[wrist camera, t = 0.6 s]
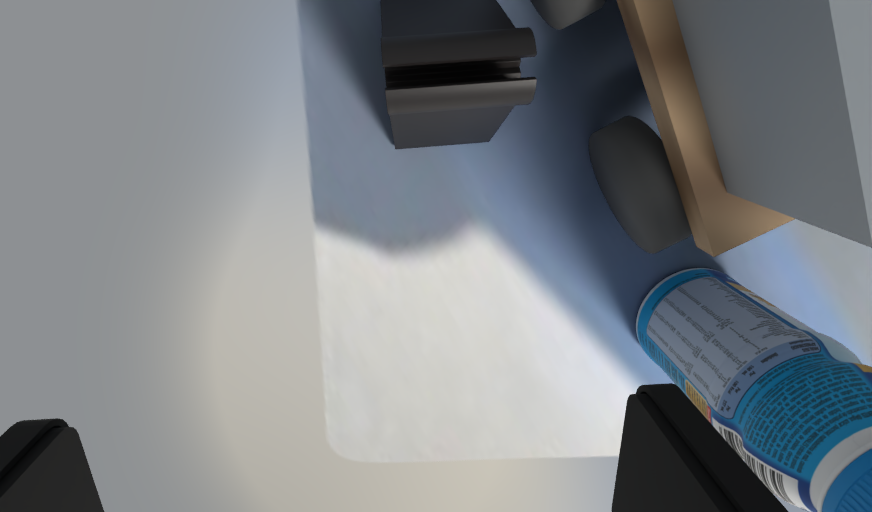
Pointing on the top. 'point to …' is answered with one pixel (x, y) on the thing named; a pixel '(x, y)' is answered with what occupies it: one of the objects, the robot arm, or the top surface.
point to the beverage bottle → (766, 387)
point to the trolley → (739, 119)
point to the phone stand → (452, 70)
